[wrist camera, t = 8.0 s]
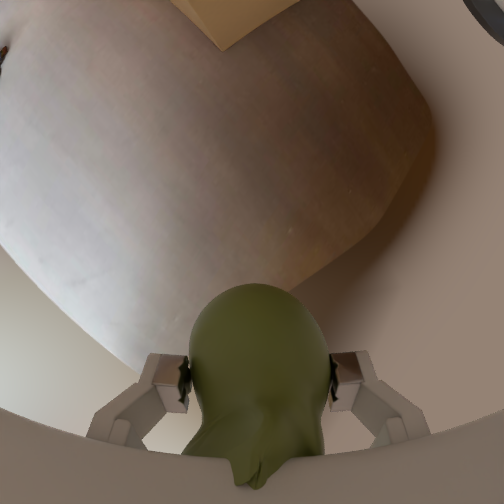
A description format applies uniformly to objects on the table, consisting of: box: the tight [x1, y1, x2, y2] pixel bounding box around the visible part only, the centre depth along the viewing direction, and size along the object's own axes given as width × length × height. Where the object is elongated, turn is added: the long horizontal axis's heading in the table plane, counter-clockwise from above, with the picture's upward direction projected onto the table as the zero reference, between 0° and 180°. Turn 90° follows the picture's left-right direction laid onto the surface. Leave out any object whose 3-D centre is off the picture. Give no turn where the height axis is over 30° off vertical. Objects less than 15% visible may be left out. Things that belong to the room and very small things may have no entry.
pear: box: [181, 283, 331, 490], centre depth 10 cm, size 6×5×10 cm
